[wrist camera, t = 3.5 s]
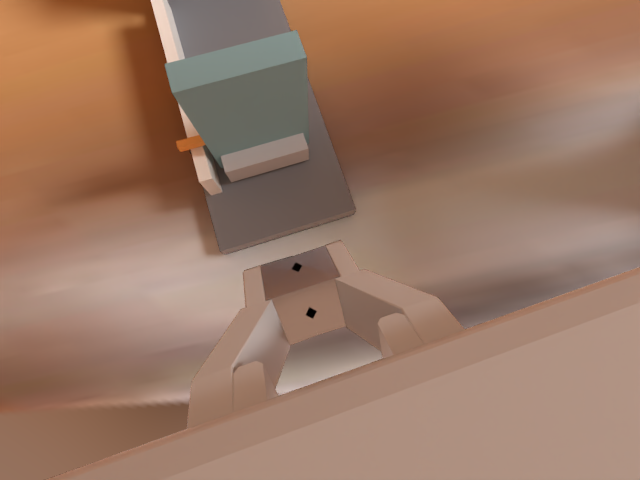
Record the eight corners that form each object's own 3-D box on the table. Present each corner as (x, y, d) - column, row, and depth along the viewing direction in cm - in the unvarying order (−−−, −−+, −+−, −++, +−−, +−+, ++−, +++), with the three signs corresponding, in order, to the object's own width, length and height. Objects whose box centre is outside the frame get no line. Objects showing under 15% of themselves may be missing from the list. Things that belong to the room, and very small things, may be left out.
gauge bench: (262, -38, 35) (238, -202, 24) (353, 214, 29) (378, 155, 18) (152, -12, 34) (73, -171, 23) (225, 254, 28) (166, 218, 17)
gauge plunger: (297, 109, 29) (289, 10, 20) (314, 158, 28) (314, 78, 19) (187, 140, 28) (121, 52, 19) (200, 191, 28) (138, 126, 18)
